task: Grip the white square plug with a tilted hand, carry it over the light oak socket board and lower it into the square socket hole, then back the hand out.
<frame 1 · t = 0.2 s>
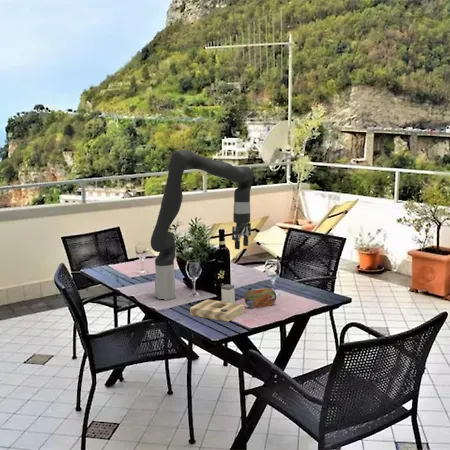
hand: (241, 247, 252), 29 cm above the table, tool pointing down, fingers open, 8 cm apart
plug: (228, 304, 265), on the table
tin: (260, 306, 260), on the table
socket board: (217, 313, 252), on the table
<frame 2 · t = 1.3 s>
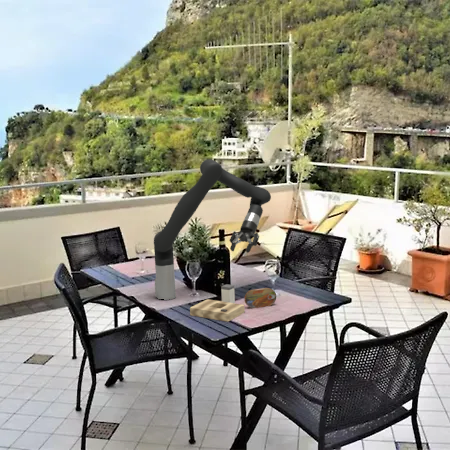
hand: (239, 251, 271), 23 cm above the table, tool tilted 45°, fingers open, 8 cm apart
nothing on the table moved.
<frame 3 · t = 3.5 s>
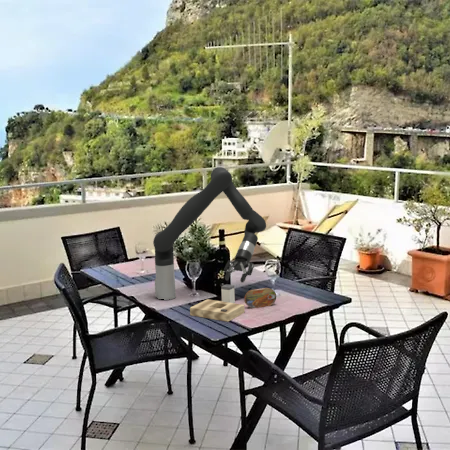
hand: (233, 280, 268), 10 cm above the table, tool tilted 45°, fingers open, 8 cm apart
nothing on the table moved.
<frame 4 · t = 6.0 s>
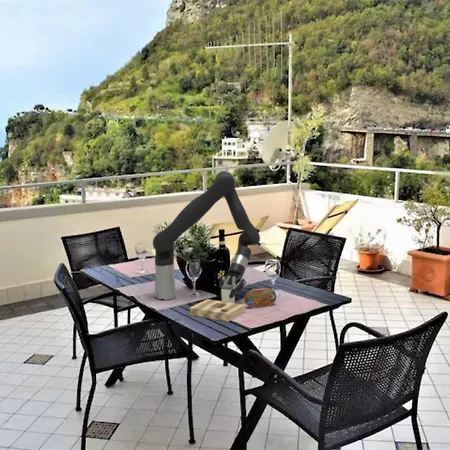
hand: (226, 296, 263), 4 cm above the table, tool tilted 45°, fingers closed on plug, 4 cm apart
plug: (228, 304, 265), on the table, touching gripper
everything else where it was.
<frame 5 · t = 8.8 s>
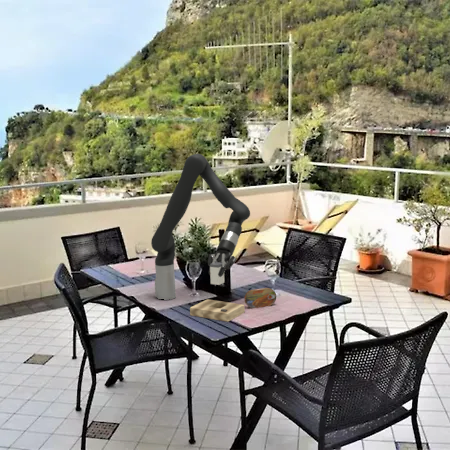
hand: (214, 275, 248), 18 cm above the table, tool tilted 45°, fingers closed on plug, 4 cm apart
plug: (217, 283, 251), point 14 cm above the table, touching gripper
everything else where it was.
when the fingers open (6 cm above the table, at t = 12.1 s): plug drops 1 cm, resting in socket board.
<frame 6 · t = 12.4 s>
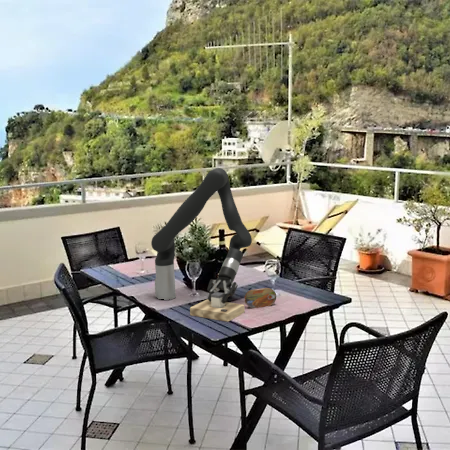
hand: (216, 301, 250), 6 cm above the table, tool tilted 45°, fingers open, 6 cm apart
plug: (218, 313, 253), resting in socket board
everything else where it was.
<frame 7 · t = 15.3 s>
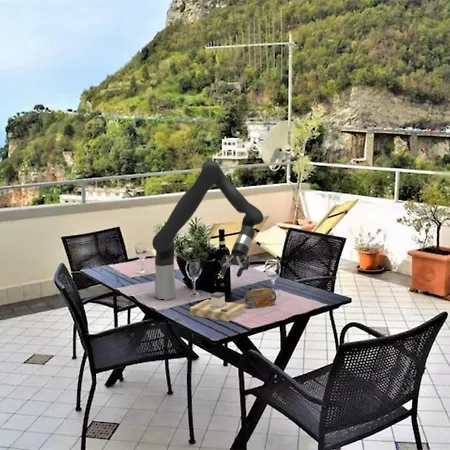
hand: (230, 275, 259), 15 cm above the table, tool tilted 45°, fingers open, 8 cm apart
nothing on the table moved.
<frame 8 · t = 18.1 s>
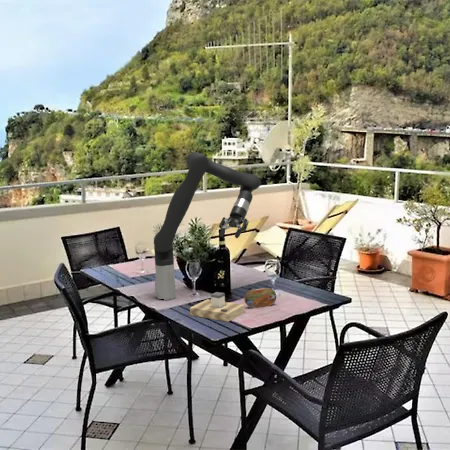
hand: (228, 236, 269), 31 cm above the table, tool tilted 45°, fingers open, 8 cm apart
nothing on the table moved.
at the end: plug 0.1 cm from the target spot on the socket board, point 0.0 cm above the socket board's base; plug tilted 0°; the gripper is holding nothing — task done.
